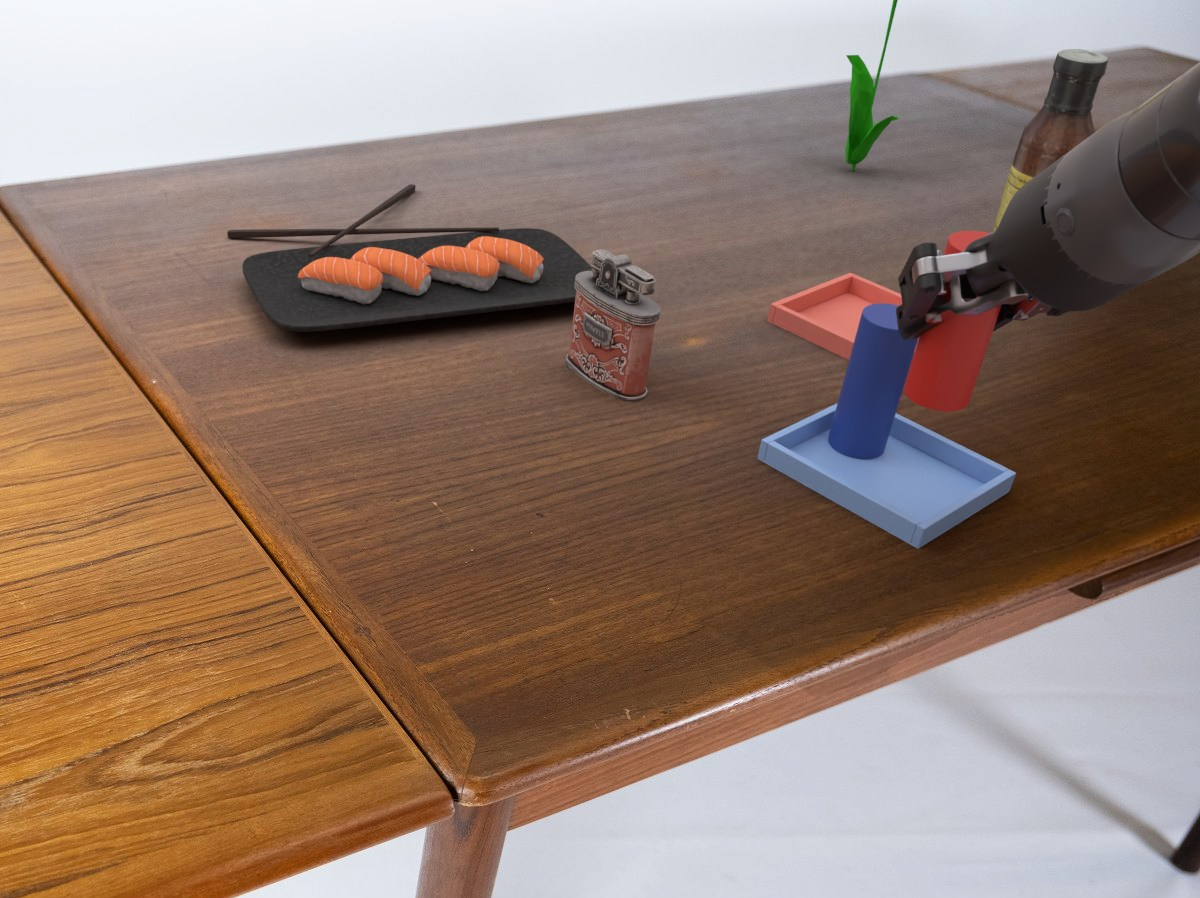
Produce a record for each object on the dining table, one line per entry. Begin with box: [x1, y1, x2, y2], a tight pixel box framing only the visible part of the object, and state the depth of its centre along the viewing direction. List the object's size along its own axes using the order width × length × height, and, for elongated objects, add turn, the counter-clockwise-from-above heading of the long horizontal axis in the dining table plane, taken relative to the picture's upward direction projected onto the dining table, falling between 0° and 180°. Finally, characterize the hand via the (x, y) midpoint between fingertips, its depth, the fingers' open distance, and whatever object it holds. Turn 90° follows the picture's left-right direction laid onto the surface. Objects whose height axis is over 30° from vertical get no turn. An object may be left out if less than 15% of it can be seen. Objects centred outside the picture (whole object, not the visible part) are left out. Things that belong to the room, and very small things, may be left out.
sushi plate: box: [226, 183, 592, 333], centre depth 112 cm, size 29×30×4 cm
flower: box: [844, 0, 899, 172], centre depth 130 cm, size 9×8×30 cm
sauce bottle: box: [992, 48, 1109, 232], centre depth 112 cm, size 6×6×20 cm
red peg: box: [903, 230, 1002, 412], centre depth 77 cm, size 4×4×10 cm
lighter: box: [564, 249, 661, 403], centre depth 94 cm, size 8×3×10 cm, turn 35°
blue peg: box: [828, 303, 919, 459], centre depth 88 cm, size 4×4×10 cm
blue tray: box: [757, 403, 1017, 549], centre depth 88 cm, size 13×11×2 cm
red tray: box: [766, 272, 919, 370], centre depth 106 cm, size 12×11×2 cm
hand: (939, 322), depth 79 cm, fingers closed on red peg, 4 cm apart
